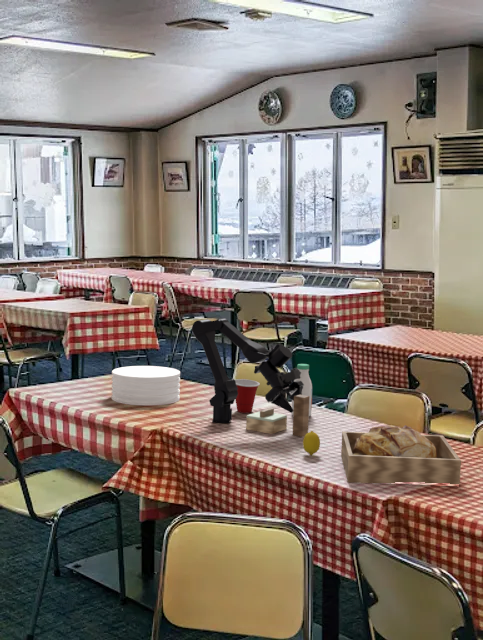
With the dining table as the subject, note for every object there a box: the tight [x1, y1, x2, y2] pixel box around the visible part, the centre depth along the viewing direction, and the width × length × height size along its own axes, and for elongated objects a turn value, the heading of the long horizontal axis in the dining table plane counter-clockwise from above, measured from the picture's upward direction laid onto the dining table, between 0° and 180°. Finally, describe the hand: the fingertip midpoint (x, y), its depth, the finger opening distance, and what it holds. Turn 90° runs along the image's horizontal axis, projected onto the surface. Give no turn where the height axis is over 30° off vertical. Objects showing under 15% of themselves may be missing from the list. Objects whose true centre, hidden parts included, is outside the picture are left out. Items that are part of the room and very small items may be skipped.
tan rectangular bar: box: [292, 395, 310, 438], centre depth 326 cm, size 4×4×14 cm
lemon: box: [302, 430, 321, 456], centre depth 299 cm, size 6×6×8 cm
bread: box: [353, 425, 437, 458], centre depth 284 cm, size 25×27×15 cm
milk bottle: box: [291, 363, 313, 417], centre depth 358 cm, size 8×8×20 cm
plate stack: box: [111, 365, 181, 406], centre depth 382 cm, size 28×28×12 cm
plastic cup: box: [234, 378, 260, 414], centre depth 362 cm, size 11×11×12 cm
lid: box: [246, 407, 288, 422], centre depth 333 cm, size 11×10×3 cm
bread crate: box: [340, 430, 462, 485], centre depth 284 cm, size 32×30×8 cm
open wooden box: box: [245, 417, 288, 435], centre depth 334 cm, size 11×10×4 cm
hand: (298, 409), depth 326 cm, fingers open, 9 cm apart
